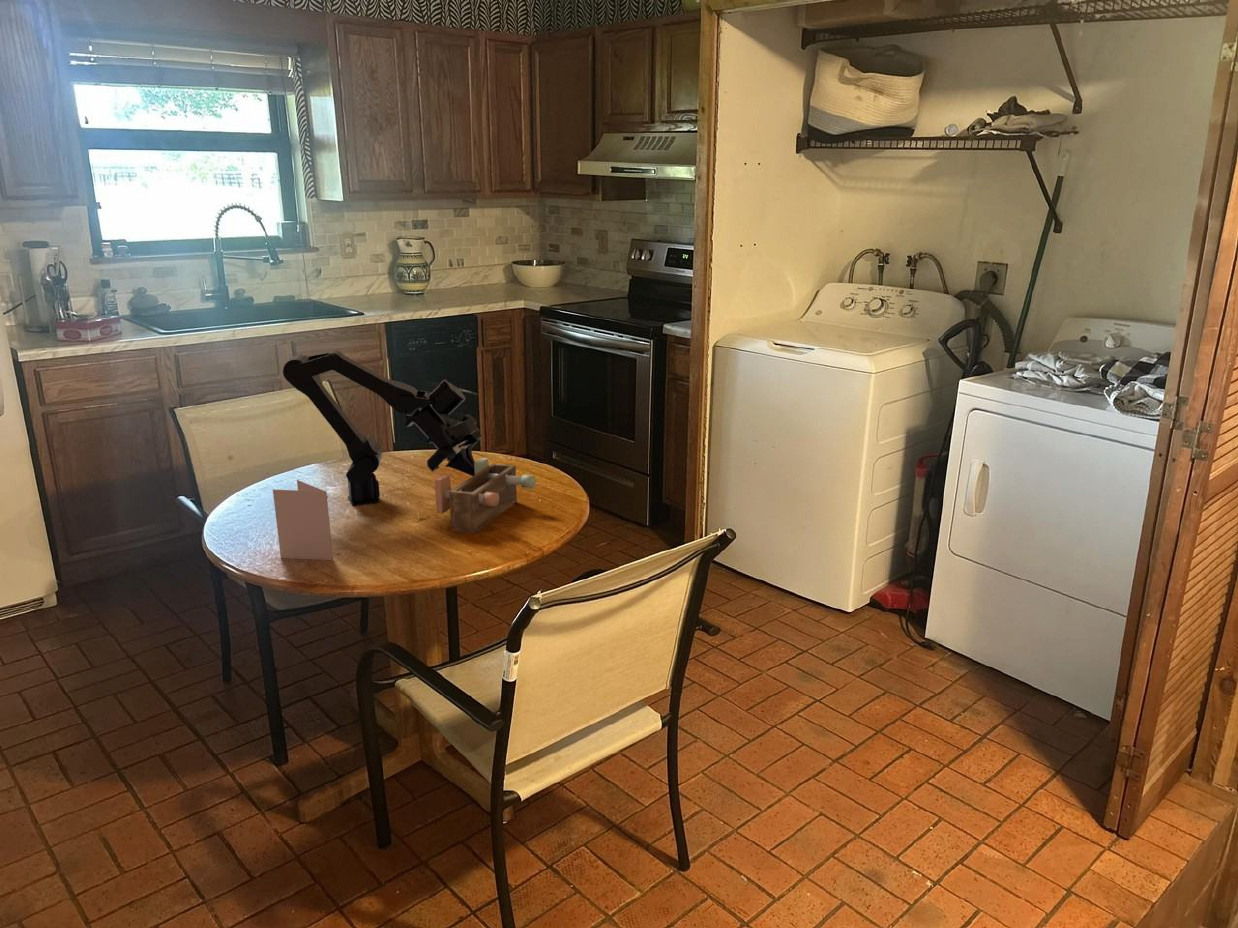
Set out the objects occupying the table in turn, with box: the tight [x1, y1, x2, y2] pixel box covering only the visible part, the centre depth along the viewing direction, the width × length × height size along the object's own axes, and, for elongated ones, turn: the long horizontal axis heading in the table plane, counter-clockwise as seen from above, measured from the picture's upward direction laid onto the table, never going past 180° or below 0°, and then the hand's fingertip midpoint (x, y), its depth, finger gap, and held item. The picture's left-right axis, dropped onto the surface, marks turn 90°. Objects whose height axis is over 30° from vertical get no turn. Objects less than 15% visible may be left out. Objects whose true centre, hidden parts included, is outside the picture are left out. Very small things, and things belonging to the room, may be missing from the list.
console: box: [449, 463, 518, 534], centre depth 213 cm, size 6×22×9 cm, turn 162°
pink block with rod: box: [434, 473, 499, 515], centre depth 206 cm, size 14×4×8 cm, turn 72°
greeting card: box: [272, 479, 334, 561], centre depth 189 cm, size 11×7×15 cm, turn 48°
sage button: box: [474, 457, 536, 489], centre depth 218 cm, size 14×4×8 cm, turn 72°
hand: (478, 476), depth 221 cm, fingers closed, pressing on sage button
